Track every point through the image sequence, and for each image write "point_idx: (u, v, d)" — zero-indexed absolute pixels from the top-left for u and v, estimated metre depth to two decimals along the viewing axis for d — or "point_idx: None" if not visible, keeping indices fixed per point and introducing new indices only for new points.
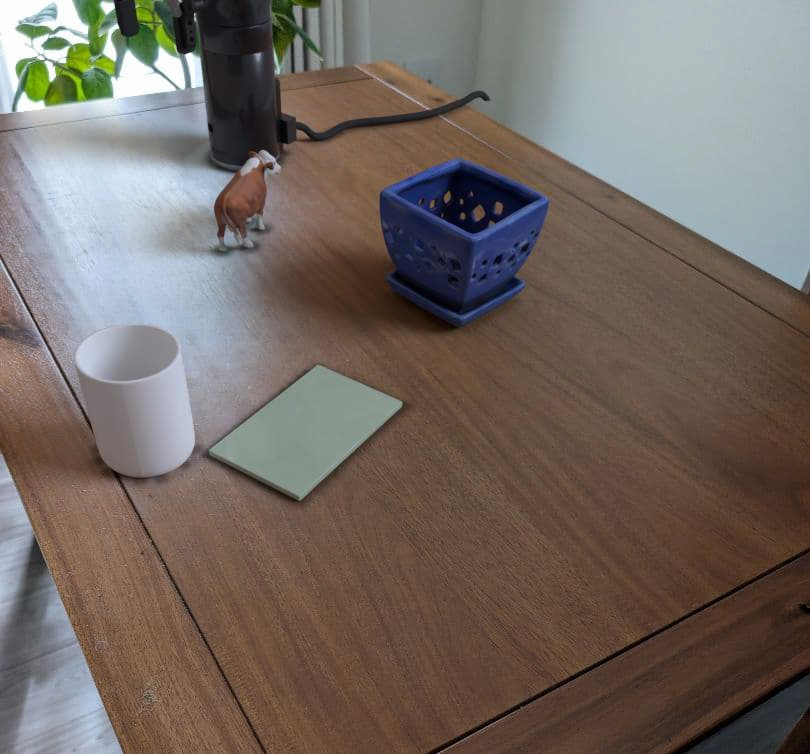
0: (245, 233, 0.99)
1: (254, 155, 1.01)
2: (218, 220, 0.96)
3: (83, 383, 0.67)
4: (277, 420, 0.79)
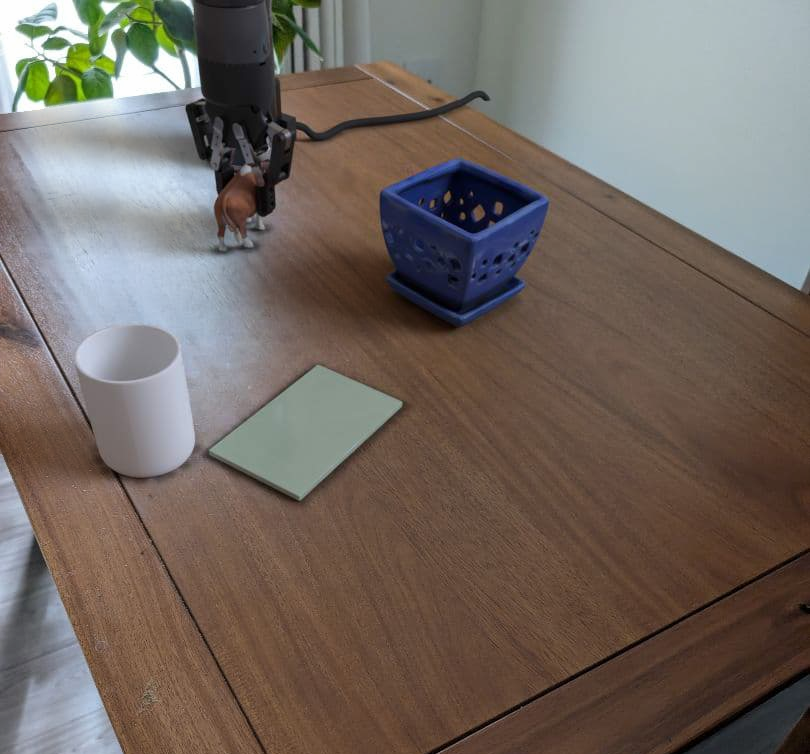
0: (245, 233, 0.99)
1: None
2: (218, 220, 0.96)
3: (83, 383, 0.67)
4: (277, 420, 0.79)
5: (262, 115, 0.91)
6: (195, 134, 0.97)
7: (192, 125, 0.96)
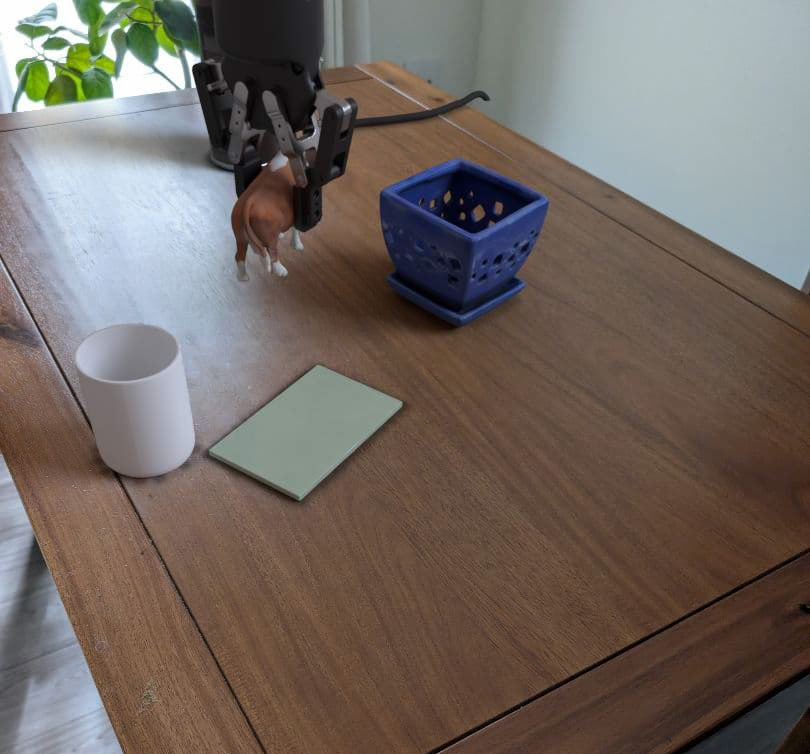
0: (276, 255, 0.67)
1: None
2: (236, 235, 0.65)
3: (83, 383, 0.67)
4: (277, 420, 0.79)
5: (308, 78, 0.59)
6: (206, 109, 0.65)
7: (202, 96, 0.65)
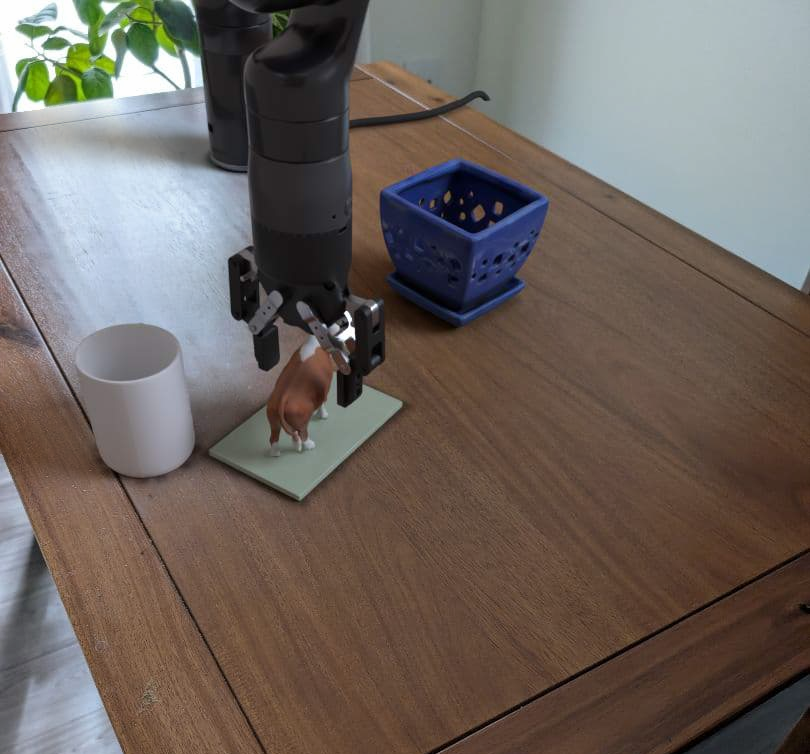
0: (306, 436, 0.74)
1: None
2: (271, 424, 0.71)
3: (83, 383, 0.67)
4: None
5: (338, 293, 0.66)
6: (234, 291, 0.71)
7: (232, 280, 0.71)
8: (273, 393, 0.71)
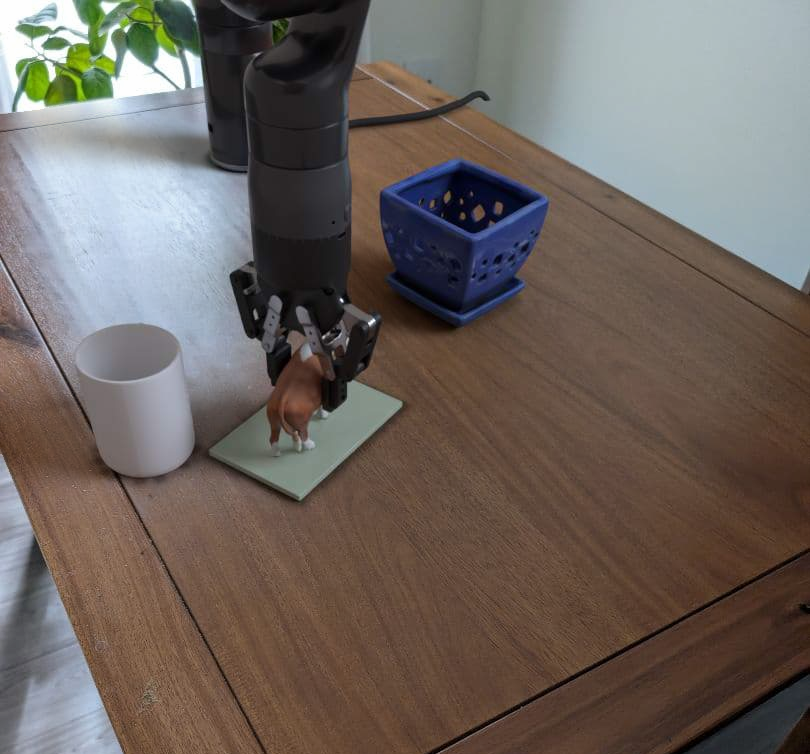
0: (306, 436, 0.74)
1: None
2: (271, 424, 0.71)
3: (83, 383, 0.67)
4: None
5: (338, 298, 0.66)
6: (242, 308, 0.72)
7: (238, 297, 0.71)
8: (273, 393, 0.71)
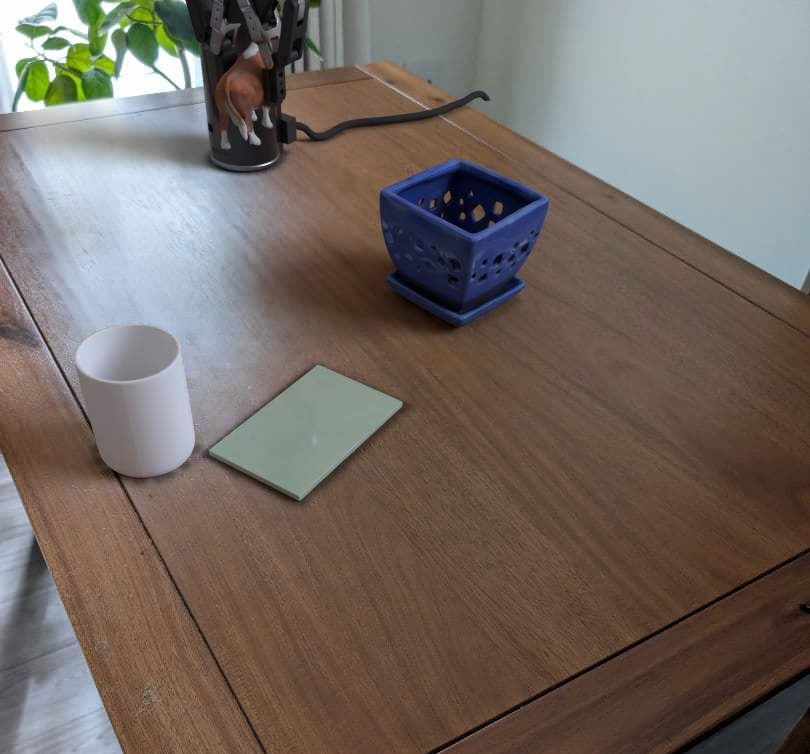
0: (251, 126, 0.85)
1: None
2: (220, 108, 0.83)
3: (83, 383, 0.67)
4: (277, 420, 0.79)
5: None
6: (191, 10, 0.83)
7: None
8: None
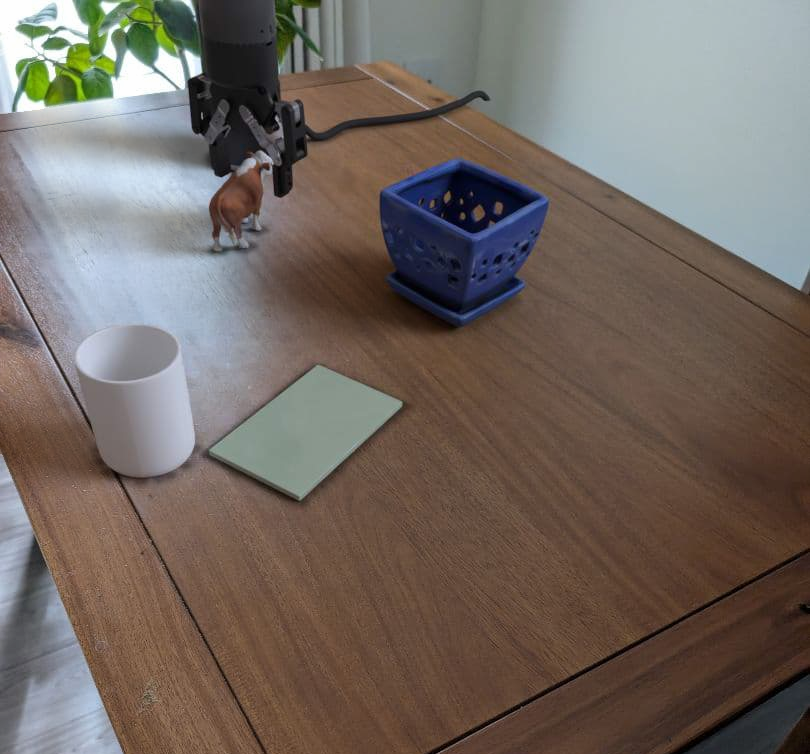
0: (240, 233, 0.98)
1: (251, 155, 1.01)
2: (213, 220, 0.96)
3: (83, 383, 0.67)
4: (277, 420, 0.79)
5: (269, 96, 0.90)
6: (193, 108, 0.95)
7: (191, 99, 0.94)
8: (214, 195, 0.95)
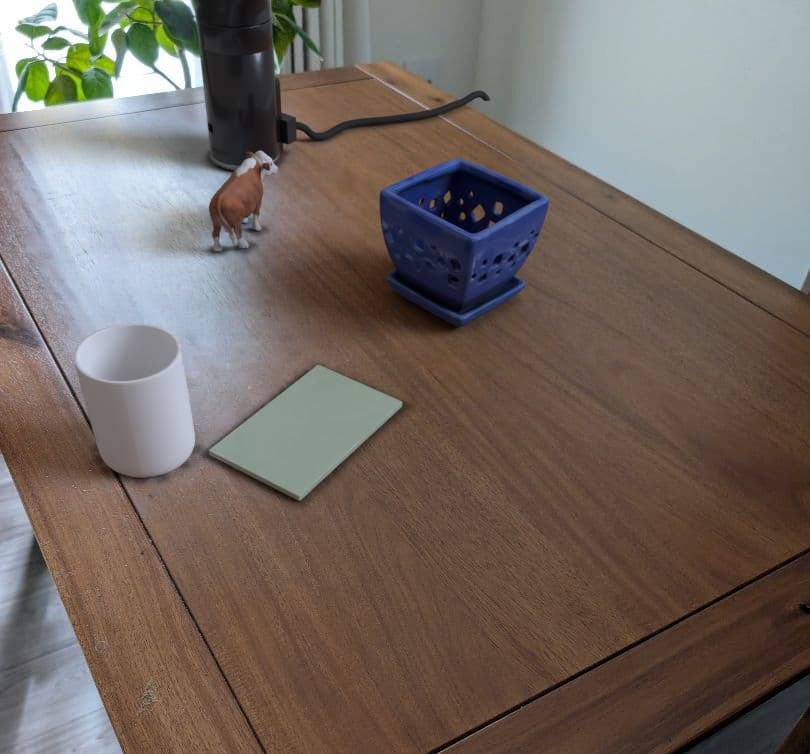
0: (240, 233, 0.98)
1: (251, 155, 1.01)
2: (213, 220, 0.96)
3: (83, 383, 0.67)
4: (277, 420, 0.79)
5: None
6: None
7: None
8: (214, 195, 0.95)
